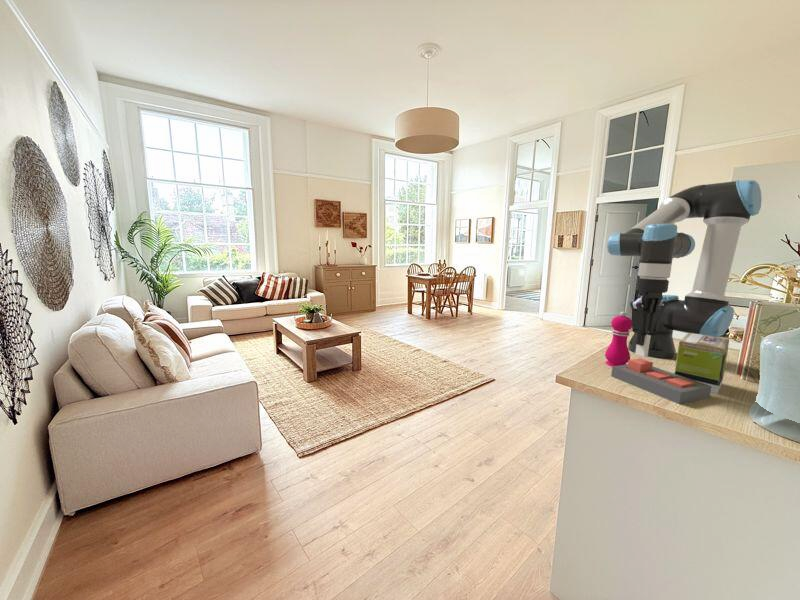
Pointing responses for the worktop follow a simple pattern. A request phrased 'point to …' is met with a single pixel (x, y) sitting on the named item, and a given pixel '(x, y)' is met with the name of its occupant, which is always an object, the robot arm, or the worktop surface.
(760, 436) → the worktop surface
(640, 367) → the button
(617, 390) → the worktop surface
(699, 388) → the power strip
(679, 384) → the button
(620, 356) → the pepper mill
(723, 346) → the tea box
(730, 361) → the worktop surface
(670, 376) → the button
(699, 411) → the worktop surface
